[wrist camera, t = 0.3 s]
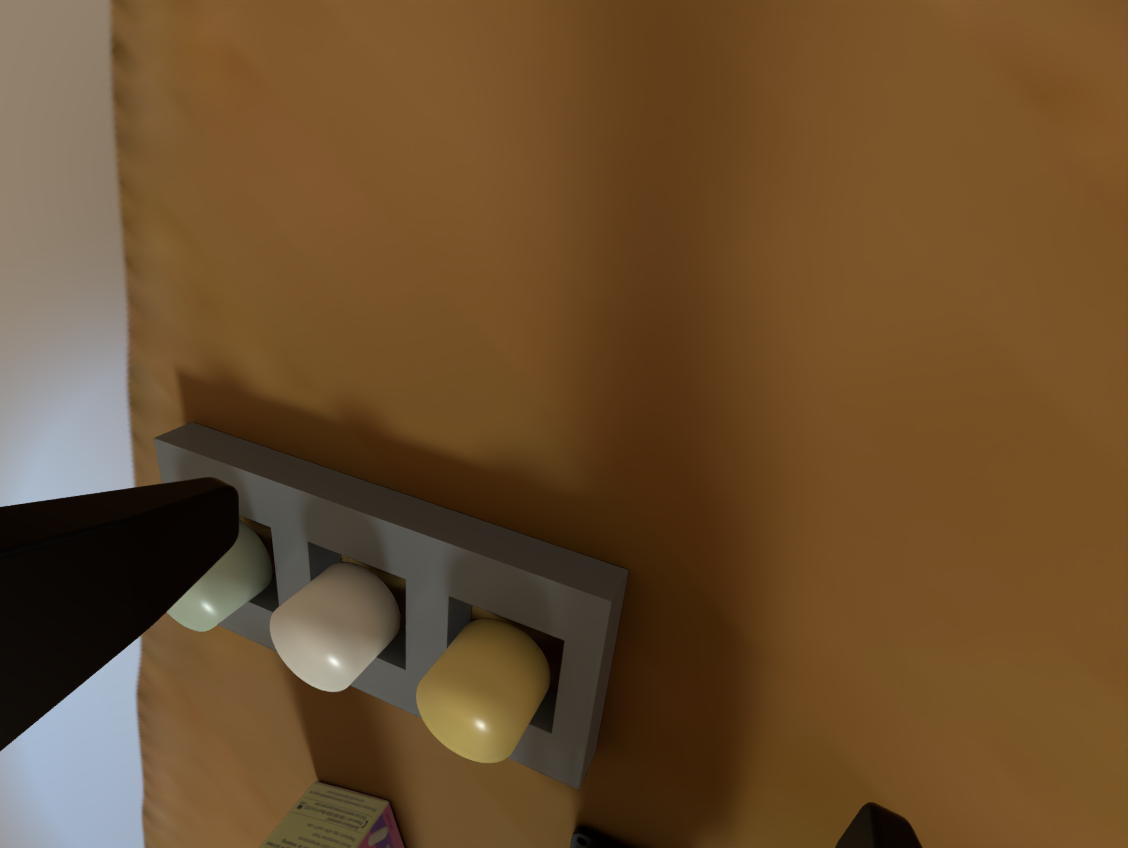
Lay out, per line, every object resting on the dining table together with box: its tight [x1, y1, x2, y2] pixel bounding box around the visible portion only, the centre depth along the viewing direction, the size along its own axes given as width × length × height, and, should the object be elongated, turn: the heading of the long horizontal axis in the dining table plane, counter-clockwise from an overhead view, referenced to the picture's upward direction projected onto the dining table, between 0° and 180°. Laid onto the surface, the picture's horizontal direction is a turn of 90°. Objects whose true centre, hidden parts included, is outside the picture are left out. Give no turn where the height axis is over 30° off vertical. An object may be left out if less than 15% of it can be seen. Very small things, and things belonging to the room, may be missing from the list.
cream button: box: [270, 562, 401, 692], centre depth 27 cm, size 4×4×3 cm
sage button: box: [167, 520, 272, 631], centre depth 29 cm, size 4×4×3 cm
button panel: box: [154, 422, 629, 790], centre depth 29 cm, size 10×22×2 cm, turn 84°
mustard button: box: [416, 618, 551, 763], centre depth 25 cm, size 4×4×3 cm
